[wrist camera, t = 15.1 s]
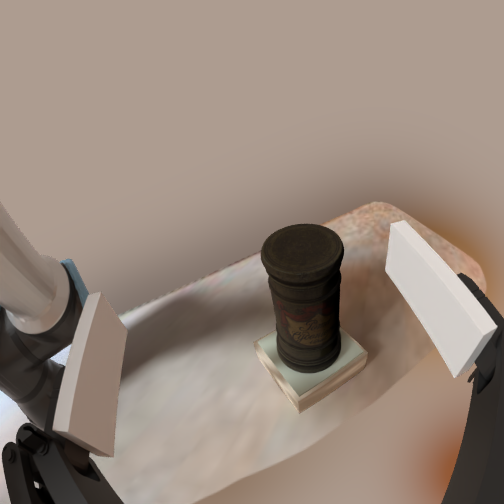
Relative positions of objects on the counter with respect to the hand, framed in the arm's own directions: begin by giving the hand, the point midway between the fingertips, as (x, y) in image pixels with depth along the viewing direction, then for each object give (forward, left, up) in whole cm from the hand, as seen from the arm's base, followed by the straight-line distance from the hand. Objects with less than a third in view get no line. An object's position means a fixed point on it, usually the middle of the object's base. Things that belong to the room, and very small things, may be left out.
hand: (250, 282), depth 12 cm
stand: (-11, +10, -32) cm, 35 cm away
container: (-11, +10, -27) cm, 31 cm away
